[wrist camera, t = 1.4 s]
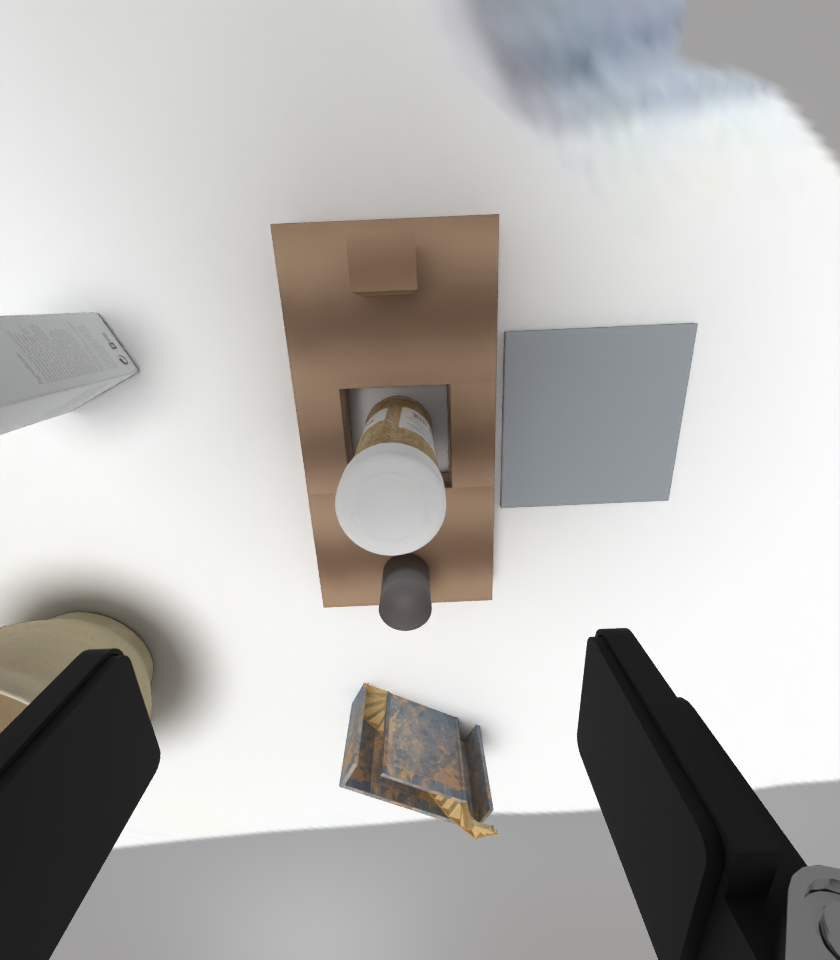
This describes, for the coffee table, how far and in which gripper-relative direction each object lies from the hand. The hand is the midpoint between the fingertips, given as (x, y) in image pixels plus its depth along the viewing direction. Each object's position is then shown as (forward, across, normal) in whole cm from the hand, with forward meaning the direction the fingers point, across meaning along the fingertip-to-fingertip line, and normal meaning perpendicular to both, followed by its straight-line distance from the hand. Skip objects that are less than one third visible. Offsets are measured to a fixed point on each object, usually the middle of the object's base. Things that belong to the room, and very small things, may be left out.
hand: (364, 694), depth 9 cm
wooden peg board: (+23, 0, 0) cm, 23 cm away
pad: (+23, -13, 0) cm, 26 cm away
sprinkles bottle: (+23, 0, 0) cm, 23 cm away
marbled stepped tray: (+23, 0, +26) cm, 35 cm away
